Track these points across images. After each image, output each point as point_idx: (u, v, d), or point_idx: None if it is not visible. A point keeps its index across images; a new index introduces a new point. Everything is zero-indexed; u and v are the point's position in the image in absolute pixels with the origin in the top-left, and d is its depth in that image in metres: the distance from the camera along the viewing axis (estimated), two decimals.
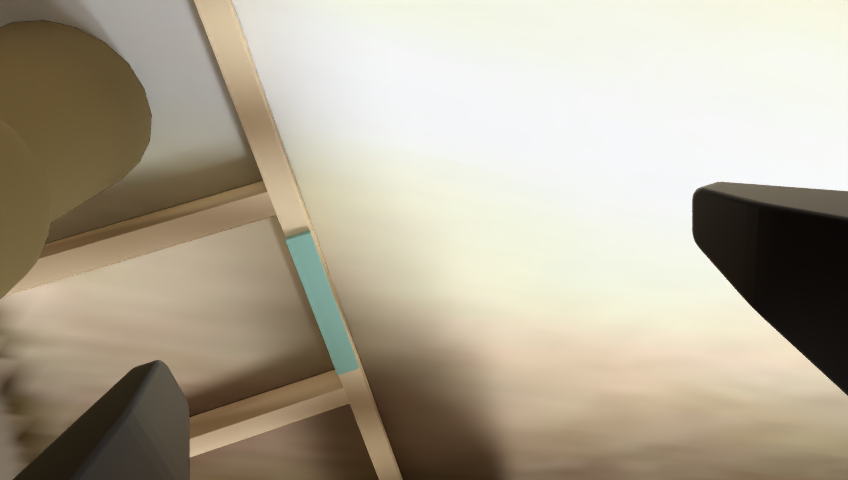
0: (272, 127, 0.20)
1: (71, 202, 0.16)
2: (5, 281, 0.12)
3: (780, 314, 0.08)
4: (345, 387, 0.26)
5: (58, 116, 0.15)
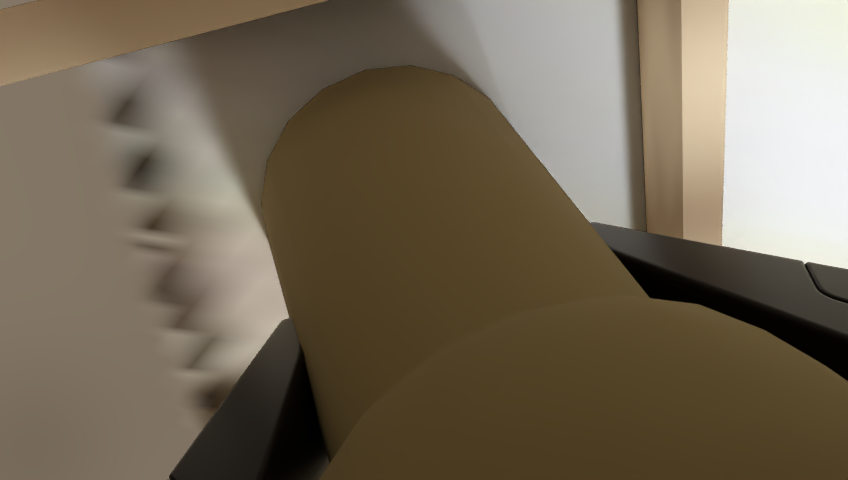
0: (721, 225, 0.13)
1: None
2: None
3: None
4: None
5: None
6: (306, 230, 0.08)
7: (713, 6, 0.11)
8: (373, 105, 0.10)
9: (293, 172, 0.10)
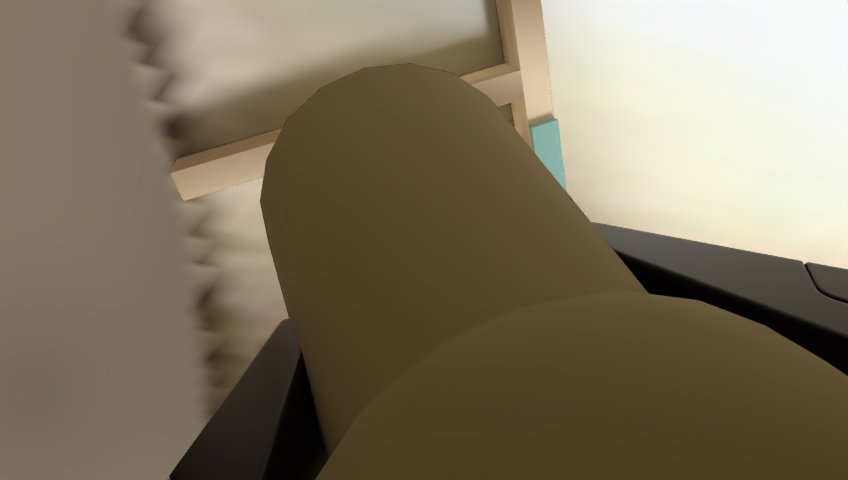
0: None
1: None
2: None
3: None
4: None
5: None
6: (305, 228, 0.08)
7: None
8: (372, 103, 0.10)
9: (292, 170, 0.10)
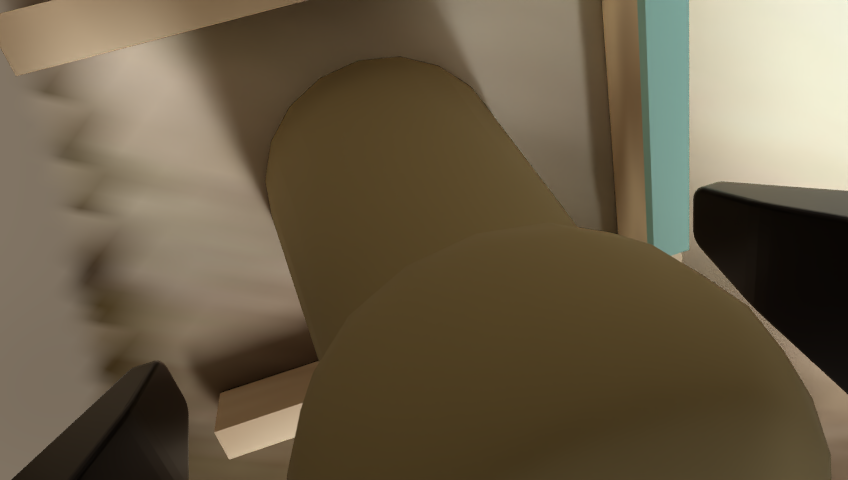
0: None
1: None
2: None
3: (781, 314, 0.08)
4: None
5: None
6: (306, 195, 0.10)
7: None
8: (365, 90, 0.11)
9: (294, 149, 0.11)
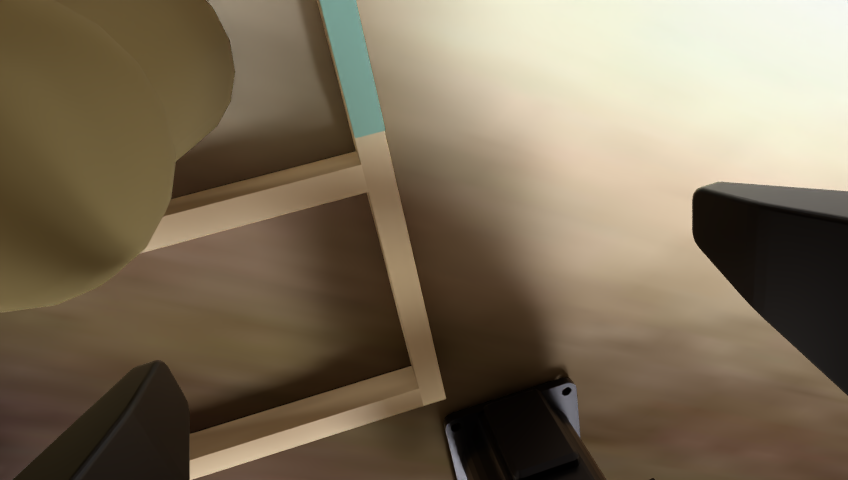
0: None
1: None
2: (128, 255, 0.09)
3: (780, 314, 0.08)
4: (364, 164, 0.19)
5: (164, 57, 0.12)
6: None
7: None
8: None
9: None
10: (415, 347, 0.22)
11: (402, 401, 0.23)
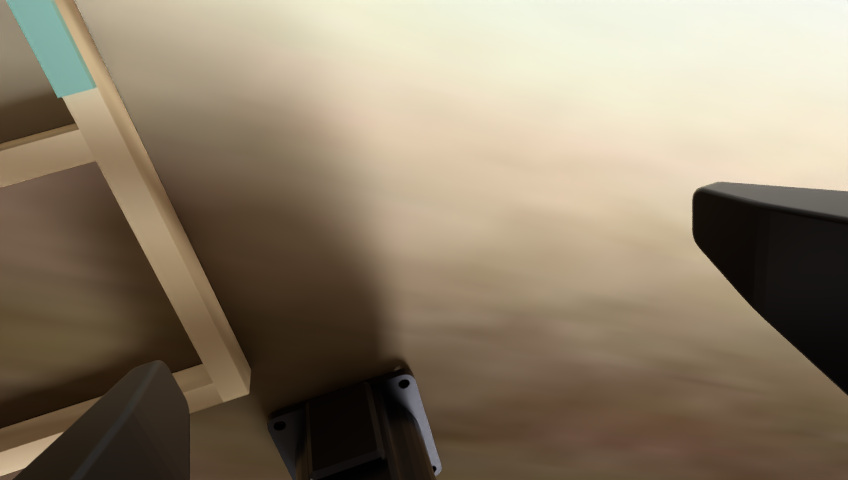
0: None
1: None
2: None
3: (780, 314, 0.08)
4: (82, 129, 0.17)
5: None
6: None
7: None
8: None
9: None
10: (197, 337, 0.20)
11: (196, 398, 0.21)
